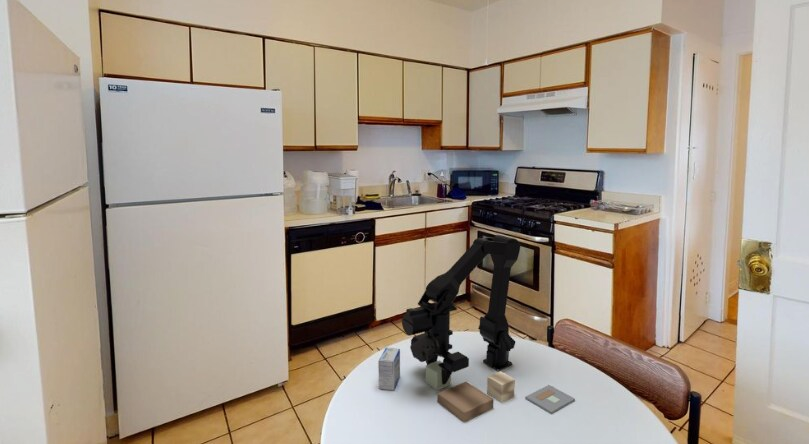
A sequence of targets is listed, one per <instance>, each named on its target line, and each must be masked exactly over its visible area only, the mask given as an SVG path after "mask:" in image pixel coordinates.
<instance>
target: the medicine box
mask: <svg viewBox="0 0 809 444" xmlns="http://www.w3.org/2000/svg"><path fill="white" fill-rule="evenodd" d="M383 350H384V351H383V352H382V353H381V356H380V357H379V359H378V363H377V364H378V365H377V368H378V370H377V371H378V389H379V390H387V391H395V389H396V387H397V385H398V381H399V379H400V378H401V349H400V348H398V347H384V349H383Z"/></svg>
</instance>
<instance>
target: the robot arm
mask: <svg viewBox="0 0 809 444" xmlns="http://www.w3.org/2000/svg"><path fill="white" fill-rule="evenodd" d="M520 251H521V243H520V242H519V240H518V239H517V238H514V237H509V236H506V235H501V234H498V235H495V236H494V237H483V238H482V237H478V238H476V239H474V241H473V242H472V245H470V247H469V248H467V250H466V251H464V253H463V255H461V256H460V257H459V259H458V260H457V261H456V262H455V263H454V264H453V265H452V266H451V267H450V268H449V269H448V270H447V271H446V272H445V273H442V274H440V275H437V276H436V277H434V279H432V280H430V282H428V283H427V285H426V287H425V291H424V293H423V294H422V295H421V297H420V299H419V301H418V302H417V306H419V307H413V308H411V307H410V308H407V309H405V310H406V312H405V313H404V314H403V315H402V319H401V325H402V329H403V332H404V333H405V334H406V335H407V336H413V335H414V336H413V337H412V338H411V339H410V346H409V347H410V351H411V354H412V357H413V358H414V359H416V360H418V361H419V362H420V363H424V362H425V363H426V365H428V364H431V363H434V362H436V361H438V360H439V359H438V358H443V360H442V362H443V363H440V364H438V366H439V367H441V371H442V384H443V385H444V384H446V383H447V381H448V379H449V377H450V376H451V377H452V374H453V373H455V372H459V371H462V370H464V369H466V368H468V367H470V358H469V357H468V356H466V355H465V354H463V353H461V352H460V351H456V352H453V353H452V352H451V351H449V350H453V344H451V343H450V336H453V333H454V331H453V330H451V329H450V326H451V325H450V324H451V323H450V322H451V321H450V319H451V312H454V311H457V309H458V308H457V306H455V305H454V304H453V302H454V301H455V299H456V297H457V296H458V295H459V291H460V287H461V285H462V284H463V282H464V281H465V280H466V279H467V278H468V277H469V275H470V274H471V273H472V272H473V271H474V270H475V269H476V268H477V266H478V265H479V264H480V263H481V262H482V261H483V260H484V259H485V258H486V257H487V255H489V256H490V258H491V261H492V264H493V269H492V270H493V271H492V278H491V287H490V294H489V303H488V311H487V312H486V314H485V315H484V316H480V317H479V326H478V328H477V329H478V330H479V335H480V336H481V337H482V339H483V341H484V342H486V343H488V344H487V345H486V346H487V347H486V348H487V350H486V353H485V354H486V356H485V359H483V360H482V362H483V364H485V365H487V366H490V367H491V368H492V369H495V370H497V371H500V370H503V369H505V368H507V367H509V366H512V365H513V362H512V361H510V360H509V356H510V355H509V354H510V352H511V350H513V349H515V345H516V340H515V339H514V338H513V337H512V336H511V335H510V332H509V330H510V328H509V323H508V319H507V316H506V311H507V310H506V308H507V301H508V294H509V286H510V278H511V270H512V267H513V266H514V264H515V263H516V262H517V261H518V258H519V254H520ZM430 301H431V302H432V303H431V302H430ZM434 303H435V304H434Z"/></svg>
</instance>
